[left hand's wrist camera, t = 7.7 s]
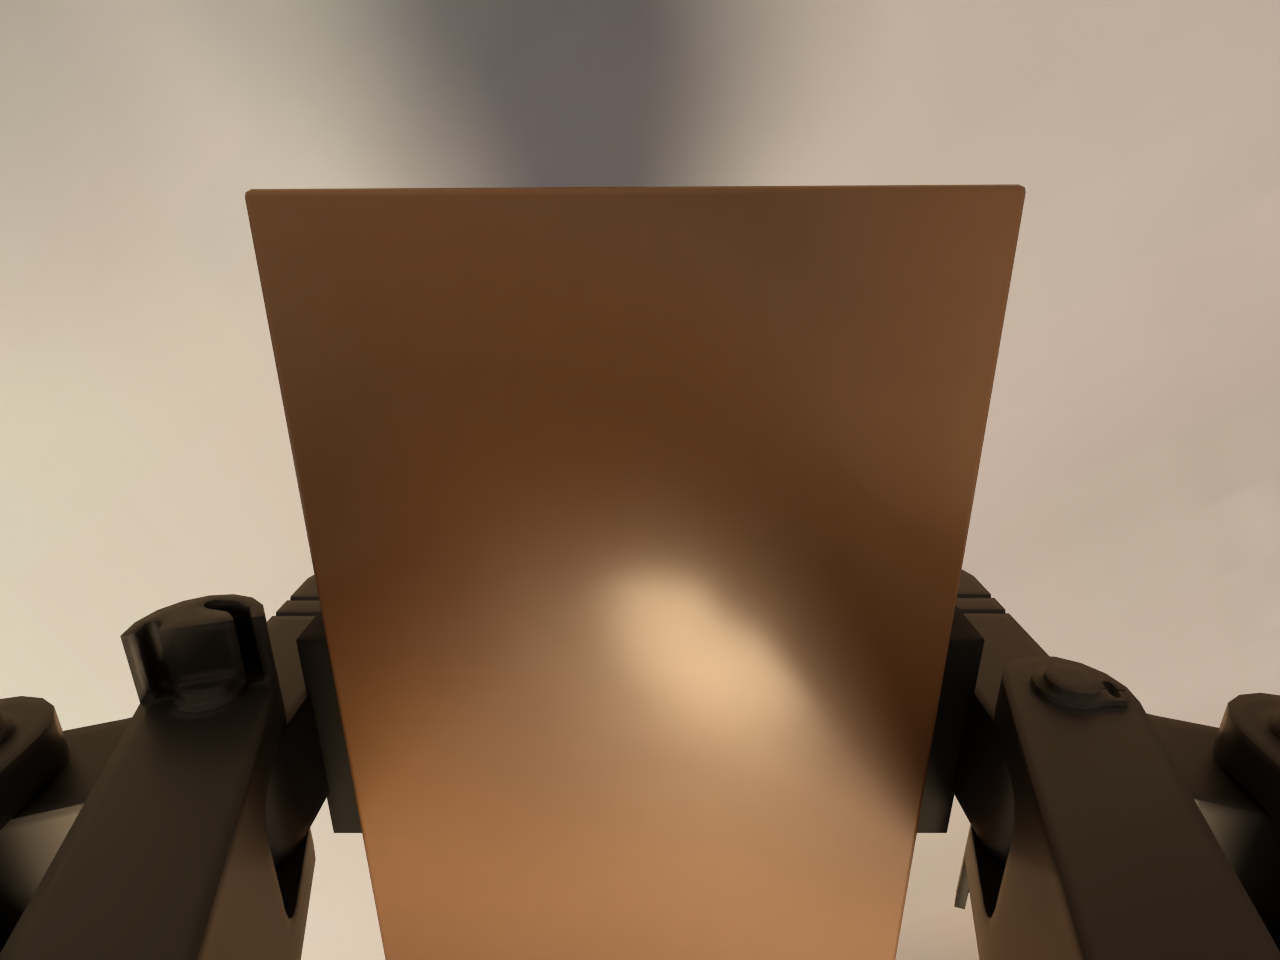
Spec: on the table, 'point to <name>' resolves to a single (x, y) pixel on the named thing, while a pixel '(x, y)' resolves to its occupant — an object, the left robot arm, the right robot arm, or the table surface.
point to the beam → (637, 546)
